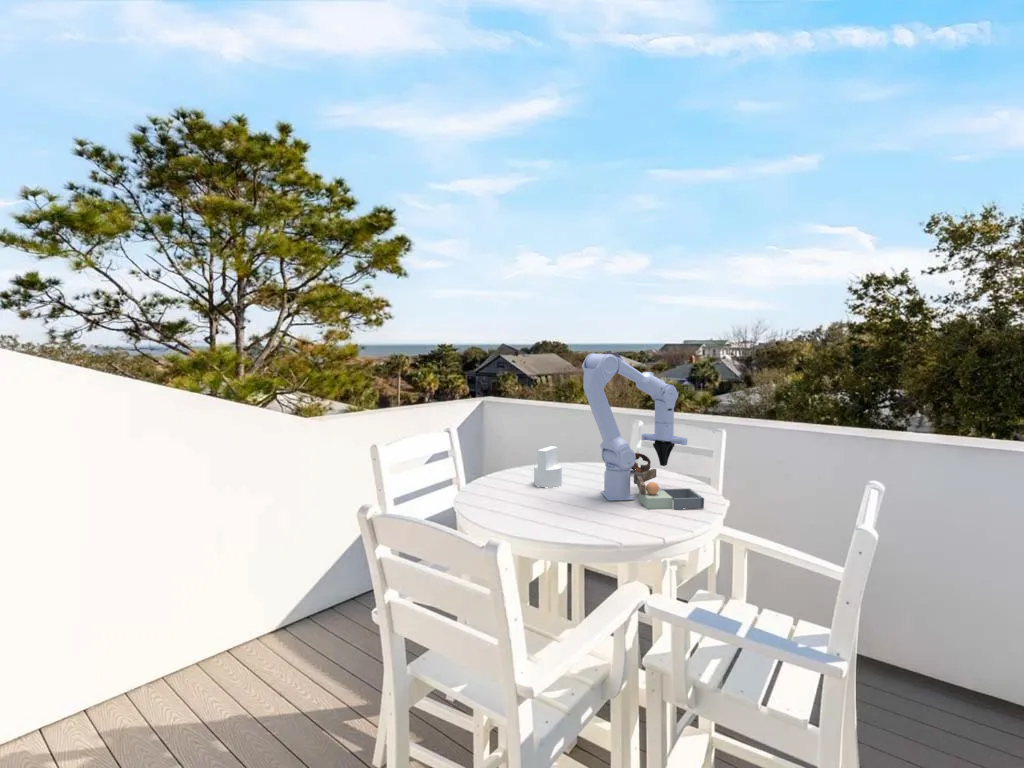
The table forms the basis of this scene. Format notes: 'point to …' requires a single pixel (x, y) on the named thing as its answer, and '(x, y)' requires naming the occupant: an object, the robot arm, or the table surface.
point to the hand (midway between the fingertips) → (663, 465)
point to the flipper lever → (643, 479)
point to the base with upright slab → (548, 468)
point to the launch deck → (656, 500)
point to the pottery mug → (643, 467)
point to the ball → (652, 488)
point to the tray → (685, 498)
